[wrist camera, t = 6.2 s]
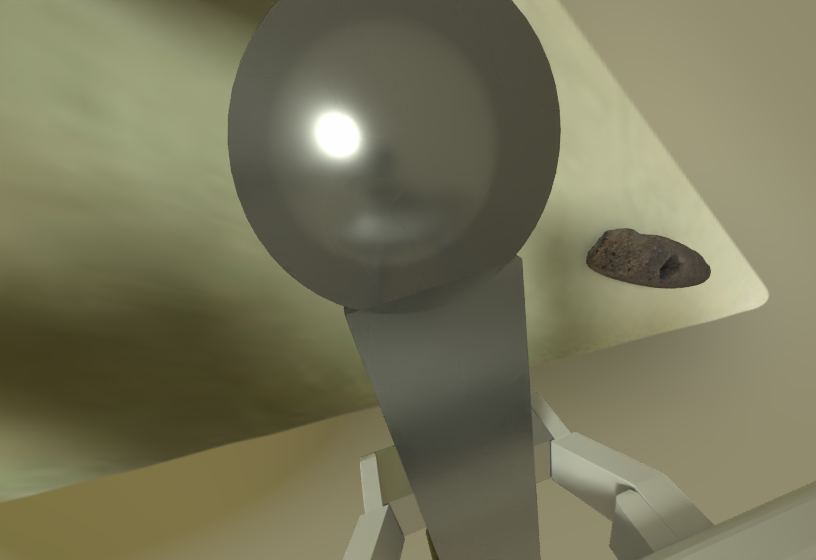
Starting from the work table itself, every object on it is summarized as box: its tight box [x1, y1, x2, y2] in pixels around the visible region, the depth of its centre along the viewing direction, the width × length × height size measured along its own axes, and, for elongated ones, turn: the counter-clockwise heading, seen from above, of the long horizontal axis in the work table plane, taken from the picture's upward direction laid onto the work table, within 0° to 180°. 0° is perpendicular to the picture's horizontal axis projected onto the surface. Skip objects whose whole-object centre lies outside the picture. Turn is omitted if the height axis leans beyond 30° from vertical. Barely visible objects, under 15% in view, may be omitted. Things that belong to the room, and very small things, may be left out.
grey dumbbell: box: [228, 0, 561, 560], centre depth 10 cm, size 4×22×4 cm, turn 13°
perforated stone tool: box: [586, 228, 711, 289], centre depth 34 cm, size 15×5×7 cm, turn 74°
